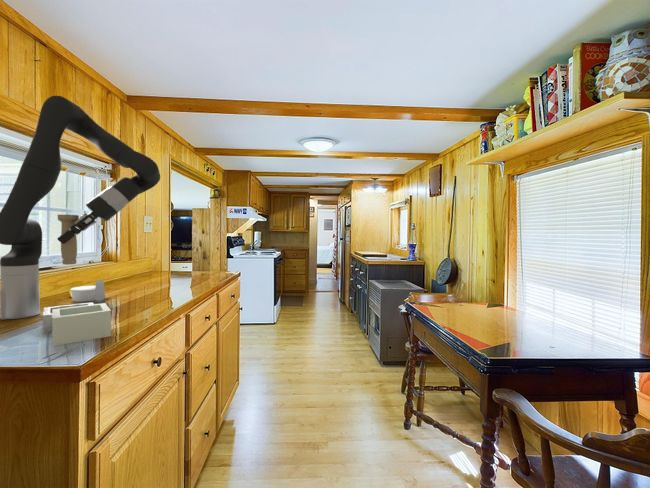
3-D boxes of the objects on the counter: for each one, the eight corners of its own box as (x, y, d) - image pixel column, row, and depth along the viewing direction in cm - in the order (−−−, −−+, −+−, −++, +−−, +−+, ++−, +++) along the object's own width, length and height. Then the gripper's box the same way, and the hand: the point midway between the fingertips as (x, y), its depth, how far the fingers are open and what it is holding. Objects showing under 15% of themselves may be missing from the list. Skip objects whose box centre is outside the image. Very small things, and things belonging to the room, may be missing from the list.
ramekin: (90, 303, 125) (90, 290, 125) (63, 302, 125) (62, 289, 125) (110, 297, 136) (109, 285, 136) (85, 297, 136) (84, 285, 136)
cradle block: (52, 346, 77) (52, 318, 77) (52, 334, 86) (52, 309, 86) (111, 335, 85) (110, 310, 85) (105, 326, 94) (105, 303, 94)
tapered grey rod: (94, 338, 108) (93, 302, 103) (95, 300, 126) (94, 267, 121) (105, 337, 110) (105, 301, 105) (105, 299, 128) (104, 267, 123)
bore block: (43, 333, 87) (43, 315, 87) (44, 323, 96) (43, 307, 96) (96, 325, 95) (96, 308, 95) (92, 317, 104) (92, 302, 104)
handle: (80, 263, 99) (79, 215, 98) (78, 264, 94) (77, 215, 93) (60, 263, 96) (59, 215, 96) (57, 265, 91) (56, 214, 90)
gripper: (95, 196, 104) (48, 232, 97) (100, 192, 94) (47, 232, 86) (114, 213, 108) (70, 249, 100) (121, 211, 97) (72, 251, 90)
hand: (60, 241), depth 93 cm, fingers closed on handle, 3 cm apart
